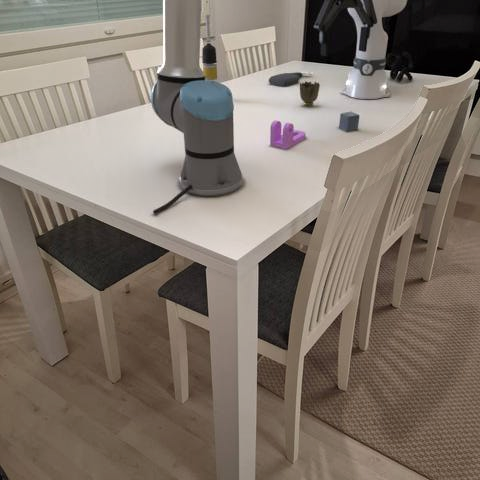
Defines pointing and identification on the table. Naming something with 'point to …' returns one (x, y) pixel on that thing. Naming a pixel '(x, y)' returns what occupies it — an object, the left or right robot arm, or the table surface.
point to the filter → (209, 57)
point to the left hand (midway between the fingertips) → (343, 53)
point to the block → (349, 121)
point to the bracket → (284, 135)
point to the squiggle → (399, 66)
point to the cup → (309, 92)
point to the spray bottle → (288, 78)
